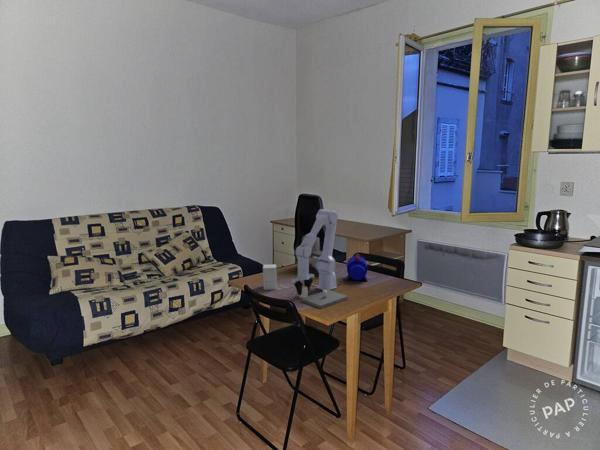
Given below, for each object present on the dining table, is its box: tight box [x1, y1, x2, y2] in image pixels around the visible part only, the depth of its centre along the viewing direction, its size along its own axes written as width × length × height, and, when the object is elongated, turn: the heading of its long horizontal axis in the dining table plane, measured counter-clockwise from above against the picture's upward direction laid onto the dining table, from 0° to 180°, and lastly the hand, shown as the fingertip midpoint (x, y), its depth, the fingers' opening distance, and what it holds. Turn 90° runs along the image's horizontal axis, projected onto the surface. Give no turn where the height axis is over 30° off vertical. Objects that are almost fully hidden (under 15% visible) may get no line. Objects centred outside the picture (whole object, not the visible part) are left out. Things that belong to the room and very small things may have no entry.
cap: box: [298, 285, 309, 299], centre depth 219 cm, size 5×5×5 cm
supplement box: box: [262, 264, 278, 291], centre depth 233 cm, size 7×7×13 cm
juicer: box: [294, 234, 325, 277], centre depth 267 cm, size 30×16×24 cm, turn 34°
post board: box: [300, 289, 349, 309], centre depth 213 cm, size 20×14×5 cm
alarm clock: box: [346, 253, 368, 283], centre depth 248 cm, size 12×12×15 cm
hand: (303, 293), depth 220 cm, fingers closed on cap, 5 cm apart
